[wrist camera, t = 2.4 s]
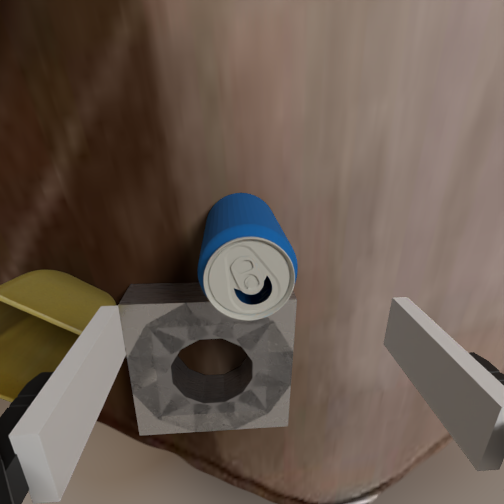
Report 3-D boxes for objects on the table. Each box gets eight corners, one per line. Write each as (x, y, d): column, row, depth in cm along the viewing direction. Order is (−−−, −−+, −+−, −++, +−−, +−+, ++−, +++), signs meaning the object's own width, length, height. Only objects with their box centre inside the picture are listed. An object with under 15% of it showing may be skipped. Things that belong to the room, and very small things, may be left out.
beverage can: (222, 265, 32) (221, 340, 21) (195, 206, 29) (177, 255, 18) (283, 241, 31) (315, 304, 20) (260, 180, 29) (282, 213, 18)
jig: (148, 405, 37) (139, 435, 34) (130, 284, 32) (118, 304, 28) (281, 397, 39) (287, 426, 35) (288, 280, 33) (296, 299, 29)
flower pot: (51, 244, 30) (-18, 290, 21) (137, 287, 32) (106, 344, 24) (17, 313, 32) (-56, 379, 24) (100, 349, 34) (60, 420, 26)
